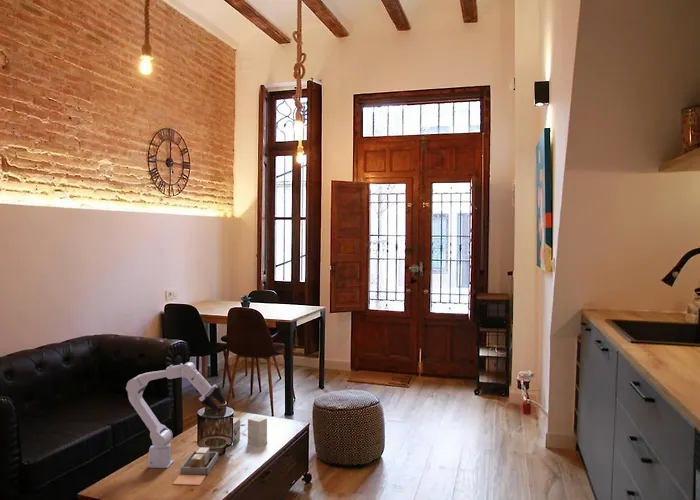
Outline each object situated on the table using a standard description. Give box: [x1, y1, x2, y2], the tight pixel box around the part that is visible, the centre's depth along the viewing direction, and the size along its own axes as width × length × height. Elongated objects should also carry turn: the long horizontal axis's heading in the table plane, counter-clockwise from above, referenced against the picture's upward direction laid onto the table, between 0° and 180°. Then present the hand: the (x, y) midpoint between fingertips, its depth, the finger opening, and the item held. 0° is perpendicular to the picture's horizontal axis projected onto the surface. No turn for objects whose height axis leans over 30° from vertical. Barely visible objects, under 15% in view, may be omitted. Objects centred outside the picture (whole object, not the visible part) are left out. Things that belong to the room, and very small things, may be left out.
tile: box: [172, 473, 207, 486], centre depth 241 cm, size 12×9×1 cm
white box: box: [196, 447, 210, 466], centre depth 260 cm, size 4×6×6 cm
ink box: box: [232, 417, 241, 447], centre depth 284 cm, size 9×5×12 cm, turn 168°
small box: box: [247, 415, 268, 447], centre depth 284 cm, size 8×6×13 cm
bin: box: [180, 450, 219, 476], centre depth 256 cm, size 12×18×3 cm
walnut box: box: [190, 454, 205, 468], centre depth 252 cm, size 4×6×6 cm
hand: (220, 405), depth 254 cm, fingers open, 7 cm apart
